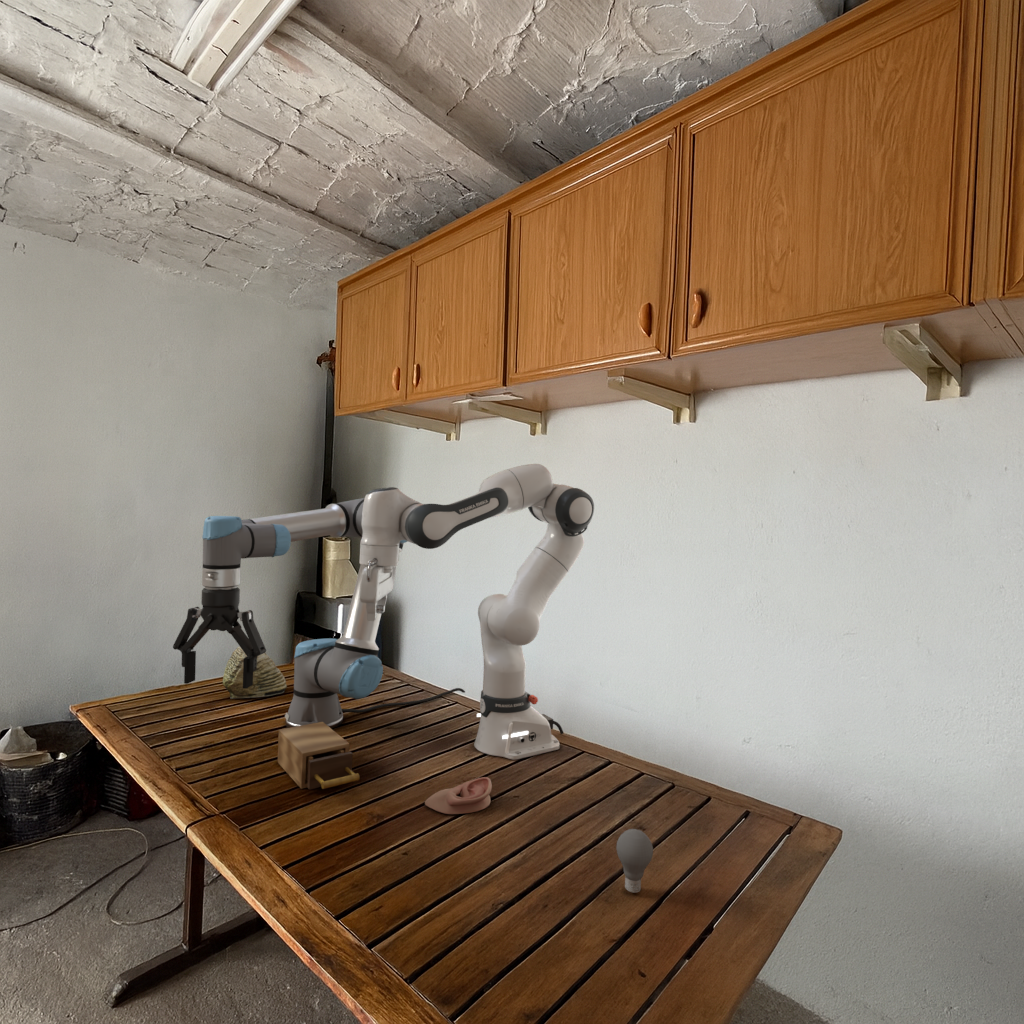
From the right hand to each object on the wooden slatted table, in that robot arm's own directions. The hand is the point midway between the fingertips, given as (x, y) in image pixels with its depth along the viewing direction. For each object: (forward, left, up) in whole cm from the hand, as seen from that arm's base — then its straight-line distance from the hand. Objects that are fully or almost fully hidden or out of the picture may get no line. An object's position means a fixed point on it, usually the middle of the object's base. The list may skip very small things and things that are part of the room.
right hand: (376, 616), depth 147 cm
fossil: (+23, -66, -36) cm, 79 cm away
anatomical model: (-15, +21, -36) cm, 44 cm away
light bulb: (-32, +60, -36) cm, 77 cm away
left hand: (+33, -4, -15) cm, 36 cm away
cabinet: (+12, -5, -36) cm, 38 cm away
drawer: (+11, +2, -35) cm, 37 cm away
